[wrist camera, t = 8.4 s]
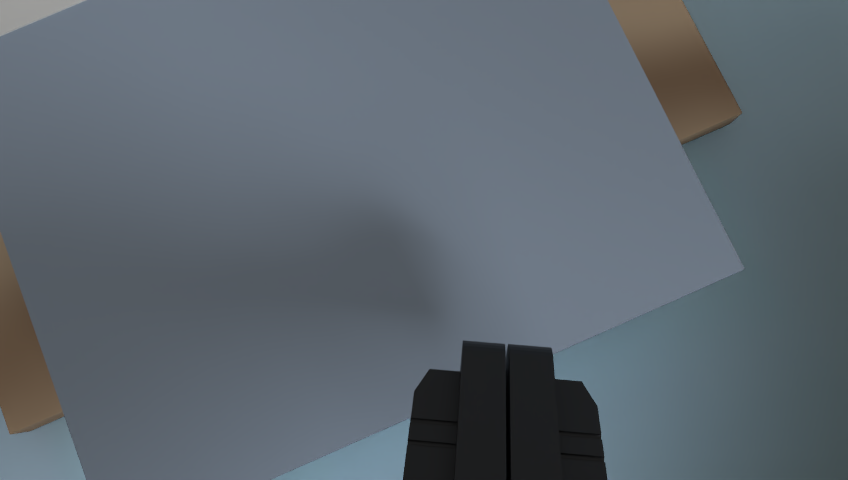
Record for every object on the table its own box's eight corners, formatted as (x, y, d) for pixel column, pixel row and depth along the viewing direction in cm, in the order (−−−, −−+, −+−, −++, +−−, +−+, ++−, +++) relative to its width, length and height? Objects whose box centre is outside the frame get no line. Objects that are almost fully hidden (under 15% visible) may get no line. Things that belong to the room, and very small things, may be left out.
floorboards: (729, 124, 22) (742, 112, 21) (30, 431, 21) (9, 434, 20) (501, -306, 25) (503, -333, 24) (-130, -43, 24) (-155, -61, 23)
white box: (748, 267, 15) (503, -211, 17) (107, 551, 15) (-74, 29, 17) (674, 289, 20) (491, -82, 22) (193, 502, 20) (47, 105, 22)
